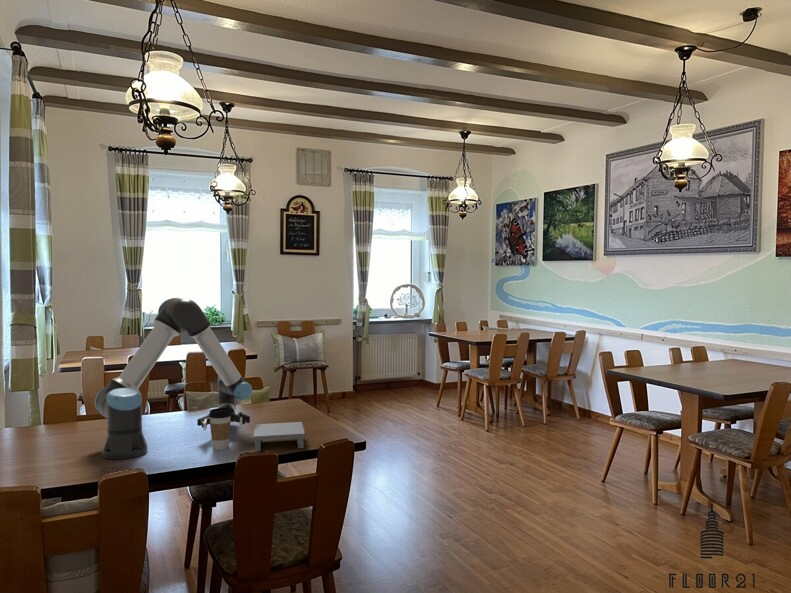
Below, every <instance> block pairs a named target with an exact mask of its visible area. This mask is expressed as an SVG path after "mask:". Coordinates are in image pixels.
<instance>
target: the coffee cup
mask: <svg viewBox="0 0 791 593" xmlns="http://www.w3.org/2000/svg"><path fill="white" fill-rule="evenodd" d="M208 414H209V417H210V424H209V426H210V434H211V436H210V437H211V444H212V445H211V446H212V449H213V450H215V451H216V450H217V451H220V450H221V451H222V450H227V449H228V448H229V447H230V446H229V445H230V437H231V436H230V433H231V423H232V422H231V420H230V417H231V415H232V413H231V408H218V407H217V408H212V409H210V410H209V413H208Z"/></svg>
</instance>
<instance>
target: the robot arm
mask: <svg viewBox="0 0 791 593" xmlns="http://www.w3.org/2000/svg"><path fill="white" fill-rule="evenodd" d="M153 324H154V326H153V327H152V330H151V331H150V332H149V333H148V335H147V336H146V337H145V339H144V340H143V341H142V343H141V344H140V346H139V348H138V349H137V350H136V351H135V353H134V354H133V356H132V358H130V361H128V363H127V364H126V366H125V367H124V369H123V370H122V372H121V373H120V375H119V376H117V377H115V378H112V379H111V380H110V382H109V383H108V384H107V386H105V387H103V388H102V389H101V390H100V391H99V392H98V393H97V394H96V397H95V399H94V406H95V409H96V411H97V413H98V414H99V415H101V417H104V418H106V421H107V425H106V426H107V430H106V431H107V435H106V439H105V441H104V443H103V444H104V445H103V448H102V453H101V454H102V457H103V458H104V459H107V460H127V459H133V458H137V457H140V456H143V455H145V454H146V453H147V452H148V443H147V441H146V438H145V435H144V433H143V409H142V408H143V405H142V404H143V398H142V393H141V392H140V389H139V388H140V387H141V385H142V384H143V382H144V380H145V379H146V378H147V376H148V375H149V373H150V372H151V371H152V370H153V368H154V366H155V365H156V363H158V360H159V359H160V357H161V356H162V355H163V353H164V351H165V350H166V349H167V347H168V345H169V344H170V343H171V341H172V340H173V339H174V338H175V337H178V336H180V335H181V333H182V332H183V331H185V333H186V334H187V335H188V337H189V338H193V339H194V341H195V342H196V344H197V345H198V347H199V348H200V350H201V351H202V352H203V355H205V357H206V359H207V360H208V362H209V363H210V365H211V366H212V368H213V370H214V371H215V372H216V374H217V408H231V413H232V415H231V417H230V420H231V423H234V422H235V423H239V428H240V429H243V425H246V423H247V424H250V422H251V416H249V415H247V414H245V413H243V412H241V411H239V412H238V413H236V410H237V402H236V400H239V401H247V400H248V399H250V398H251V396H252V395H253V387H252V384H250V383H249V382H248V381H245V379H244V377H243V376H242V375H241V374H240V372H239V370H238V369H237V367H236V366H235V364H234V362H233V360H231V358H230V356H229V354H228V353H227V351H226V350H225V349H224V347H223V345H222V344H221V342H220V341H219V339H218V337H217V336H216V334H215V333H214V332H213V330H212V328H211V325H212V324H211V322H210V319H208V318H207V315H206V314H205V312H204V311H203V310H202V308H201V307H200V306H199V304H198V303H196V302H195V301H194V300H191V299H189V298H179V297H172V298H168V299H166V300H164V301H163V302H161V304H160V305H159V308H158V311H157V315H156V317H155V318H154V320H153ZM196 422H197V426H198V427H199V426H200V427H201V428H203V431H206V430H207V427H208V425H210V417H209V413H207V414H206V415H203V416H202V417H200V418H198V419H197V421H196Z"/></svg>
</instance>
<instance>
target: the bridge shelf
mask: <svg viewBox="0 0 791 593" xmlns="http://www.w3.org/2000/svg"><path fill="white" fill-rule="evenodd" d="M304 438H306V433H305V429H304V425H303V422H302V421H295V422H277V423H275V422H273V423H258V424H257V423H255V424H254V425H253V441H254V452H255V453H258V452H257V451H261V446H262V445H261V443H262V442H261V441H266V440H280V439H281V440H283V439H284V440H285V439H296V440H297V441H296V445H298V446H297V449H298V450H300V449H299V448H304Z"/></svg>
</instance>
